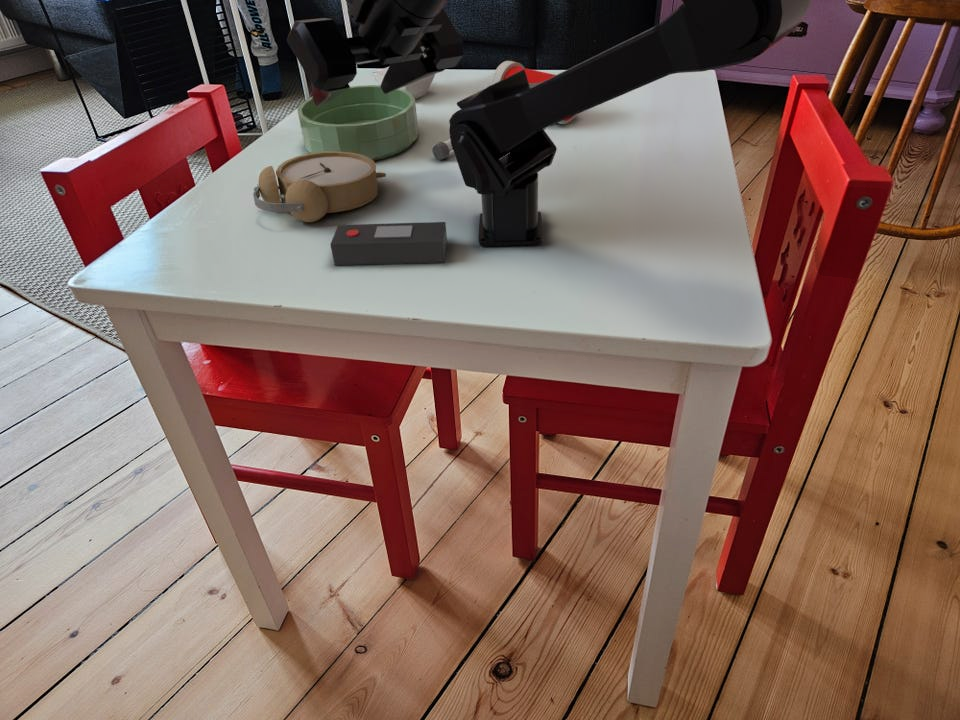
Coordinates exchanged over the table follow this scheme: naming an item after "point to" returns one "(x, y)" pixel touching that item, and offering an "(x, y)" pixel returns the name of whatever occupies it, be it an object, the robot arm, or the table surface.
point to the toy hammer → (500, 73)
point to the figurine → (414, 88)
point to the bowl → (361, 122)
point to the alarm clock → (318, 184)
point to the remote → (389, 243)
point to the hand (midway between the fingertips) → (350, 96)
